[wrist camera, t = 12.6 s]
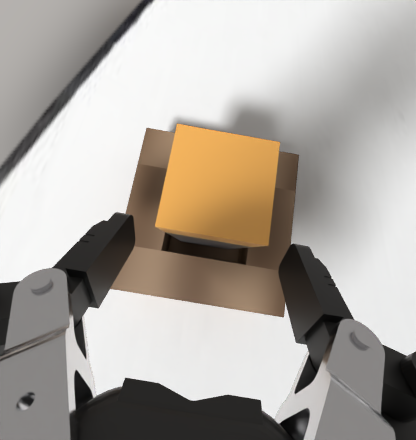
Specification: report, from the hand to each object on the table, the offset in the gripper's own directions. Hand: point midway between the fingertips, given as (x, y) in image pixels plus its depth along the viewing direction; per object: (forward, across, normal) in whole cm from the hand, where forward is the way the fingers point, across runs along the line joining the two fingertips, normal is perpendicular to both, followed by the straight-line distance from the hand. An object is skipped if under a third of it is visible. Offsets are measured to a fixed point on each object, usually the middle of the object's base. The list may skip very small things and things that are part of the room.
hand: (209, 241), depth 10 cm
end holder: (+7, 0, +4) cm, 8 cm away
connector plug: (+6, 0, +3) cm, 7 cm away
